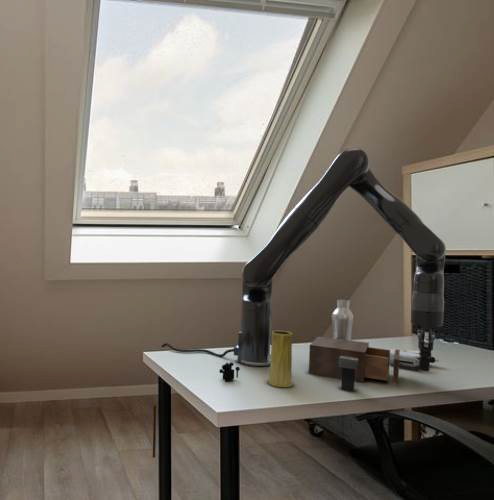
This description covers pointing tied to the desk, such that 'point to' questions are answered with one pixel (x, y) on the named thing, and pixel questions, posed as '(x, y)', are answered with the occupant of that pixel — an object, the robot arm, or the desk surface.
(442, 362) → the desk surface
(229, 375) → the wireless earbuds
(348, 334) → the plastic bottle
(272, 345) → the vase
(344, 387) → the tall brushed metal prism
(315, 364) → the cabinet
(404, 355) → the robot toy
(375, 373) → the drawer
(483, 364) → the desk surface
